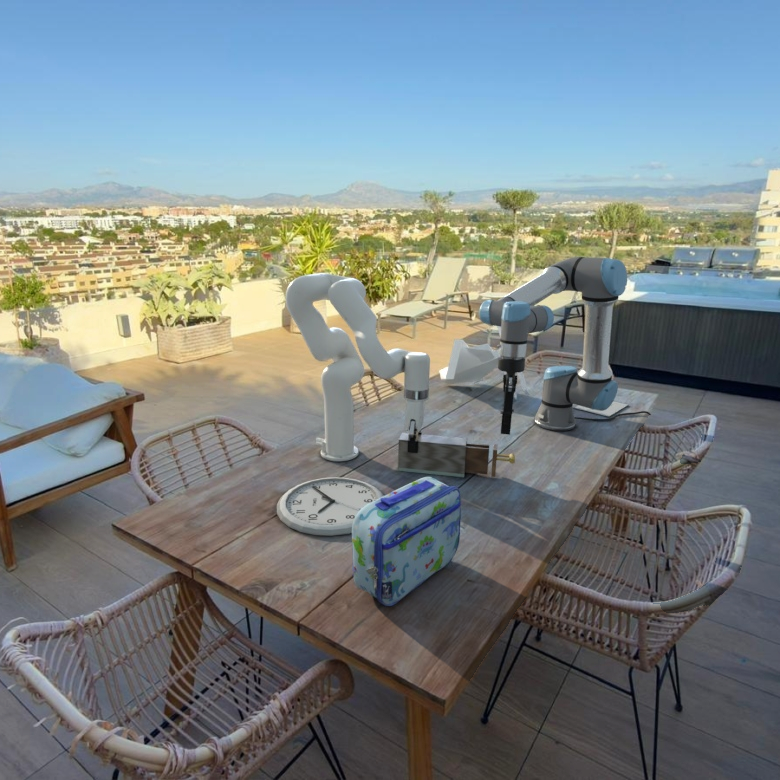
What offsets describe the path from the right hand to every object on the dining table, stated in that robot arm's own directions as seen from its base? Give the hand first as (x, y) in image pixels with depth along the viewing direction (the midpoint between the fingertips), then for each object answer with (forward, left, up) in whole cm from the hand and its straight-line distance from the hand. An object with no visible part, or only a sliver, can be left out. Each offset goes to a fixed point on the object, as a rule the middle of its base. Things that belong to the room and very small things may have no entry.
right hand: (505, 433), depth 156 cm
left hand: (+27, -2, -8) cm, 28 cm away
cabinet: (+21, -2, -15) cm, 26 cm away
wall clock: (+48, +24, -15) cm, 55 cm away
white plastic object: (+3, -87, -15) cm, 88 cm away
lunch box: (+24, +52, -15) cm, 59 cm away
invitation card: (-49, -75, -15) cm, 90 cm away
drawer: (+9, -1, -14) cm, 16 cm away
